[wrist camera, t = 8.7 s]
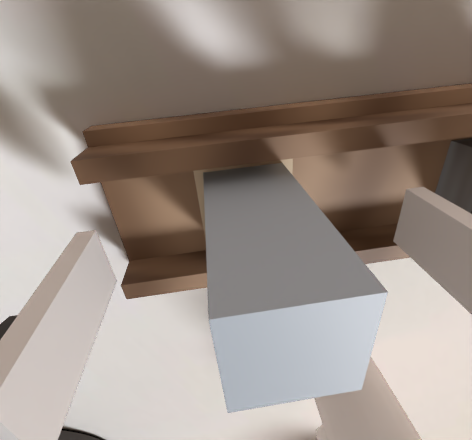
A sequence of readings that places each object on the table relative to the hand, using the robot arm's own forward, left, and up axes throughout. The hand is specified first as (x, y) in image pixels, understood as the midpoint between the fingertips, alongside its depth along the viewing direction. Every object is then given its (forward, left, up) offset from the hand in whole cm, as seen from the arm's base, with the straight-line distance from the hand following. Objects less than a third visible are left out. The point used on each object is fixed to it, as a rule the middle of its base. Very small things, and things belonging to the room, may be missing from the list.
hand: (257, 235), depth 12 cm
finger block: (0, 0, -3) cm, 3 cm away
